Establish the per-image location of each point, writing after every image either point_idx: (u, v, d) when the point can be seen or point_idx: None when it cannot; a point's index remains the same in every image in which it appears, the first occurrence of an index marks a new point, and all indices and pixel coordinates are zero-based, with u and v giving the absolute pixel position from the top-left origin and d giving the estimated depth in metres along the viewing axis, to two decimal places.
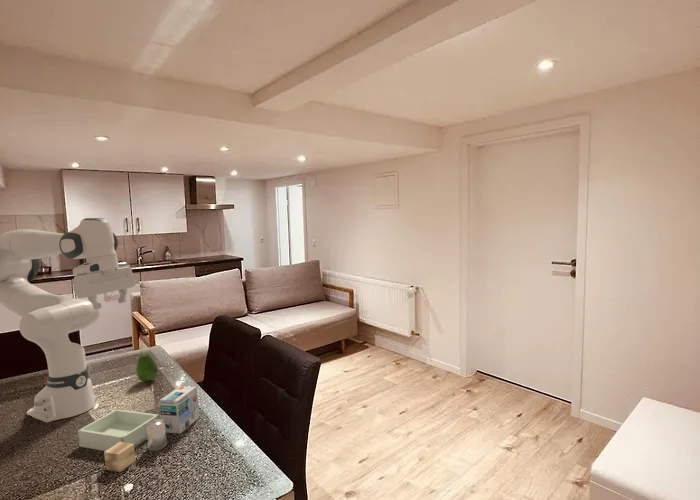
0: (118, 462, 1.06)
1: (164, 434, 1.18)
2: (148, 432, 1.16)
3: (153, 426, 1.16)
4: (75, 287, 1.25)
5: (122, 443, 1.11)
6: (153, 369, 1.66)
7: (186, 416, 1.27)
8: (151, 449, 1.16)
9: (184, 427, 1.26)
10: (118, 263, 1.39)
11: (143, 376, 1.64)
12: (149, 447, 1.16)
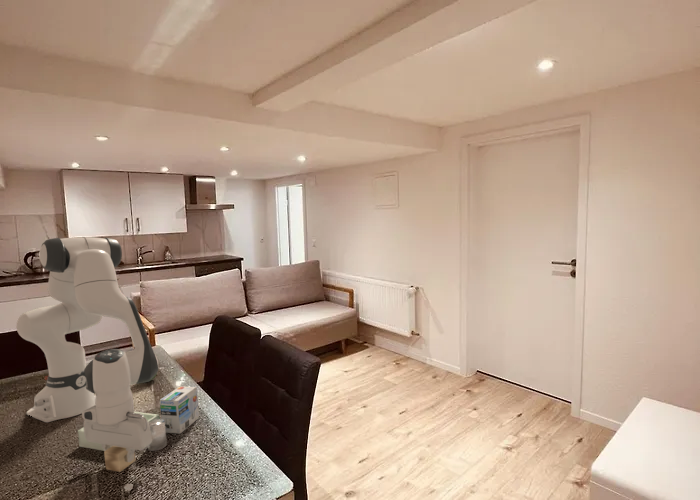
0: (118, 462, 1.06)
1: (164, 434, 1.18)
2: None
3: (153, 426, 1.16)
4: None
5: None
6: None
7: (186, 416, 1.27)
8: (151, 449, 1.16)
9: (184, 427, 1.26)
10: (130, 413, 1.06)
11: None
12: (149, 447, 1.16)
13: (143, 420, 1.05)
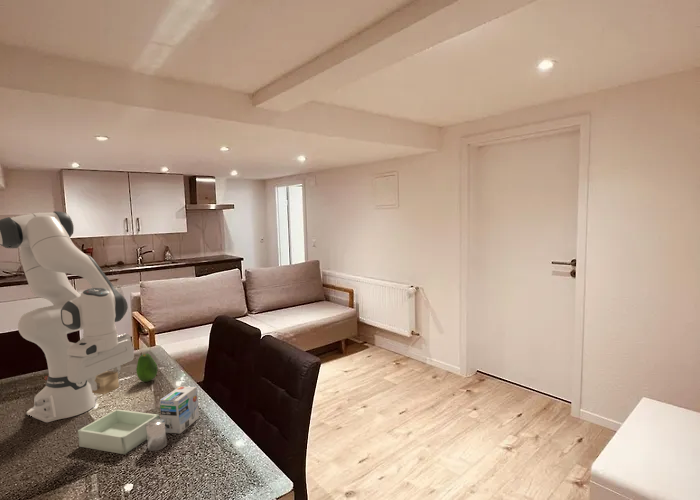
0: (117, 379, 1.25)
1: (164, 434, 1.18)
2: (148, 432, 1.16)
3: (153, 426, 1.16)
4: (68, 371, 1.14)
5: None
6: (153, 369, 1.66)
7: (186, 416, 1.27)
8: (151, 449, 1.16)
9: (184, 427, 1.26)
10: (118, 336, 1.28)
11: (143, 376, 1.64)
12: (149, 447, 1.16)
13: (129, 336, 1.32)
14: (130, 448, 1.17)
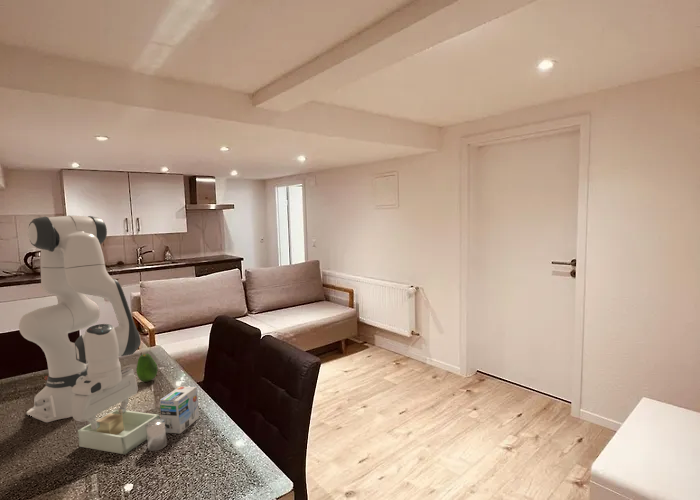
0: (122, 422, 1.26)
1: (164, 434, 1.18)
2: (148, 432, 1.16)
3: (153, 426, 1.16)
4: (73, 410, 1.15)
5: (101, 418, 1.24)
6: (153, 369, 1.66)
7: (186, 416, 1.27)
8: (151, 449, 1.16)
9: (184, 427, 1.26)
10: (121, 371, 1.29)
11: (143, 376, 1.64)
12: (149, 447, 1.16)
13: (132, 370, 1.33)
14: (130, 448, 1.17)
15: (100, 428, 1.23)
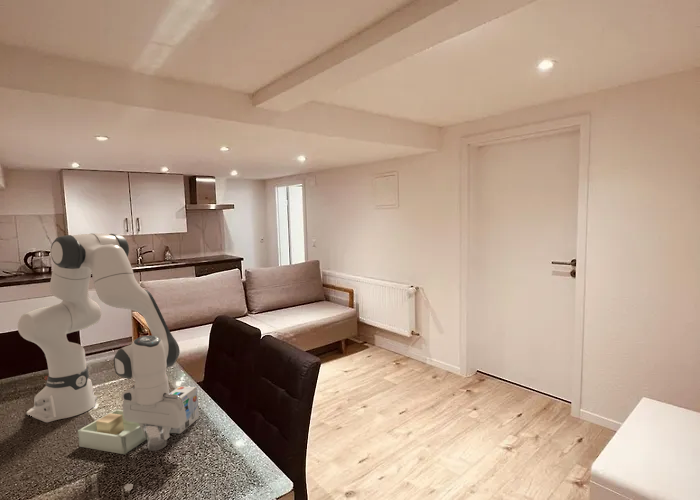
0: (122, 422, 1.26)
1: None
2: (148, 432, 1.16)
3: (153, 426, 1.16)
4: None
5: (101, 418, 1.24)
6: None
7: (186, 416, 1.27)
8: (151, 449, 1.16)
9: (184, 427, 1.26)
10: (167, 394, 1.15)
11: None
12: (149, 447, 1.16)
13: (179, 400, 1.14)
14: (130, 448, 1.17)
15: (100, 428, 1.23)
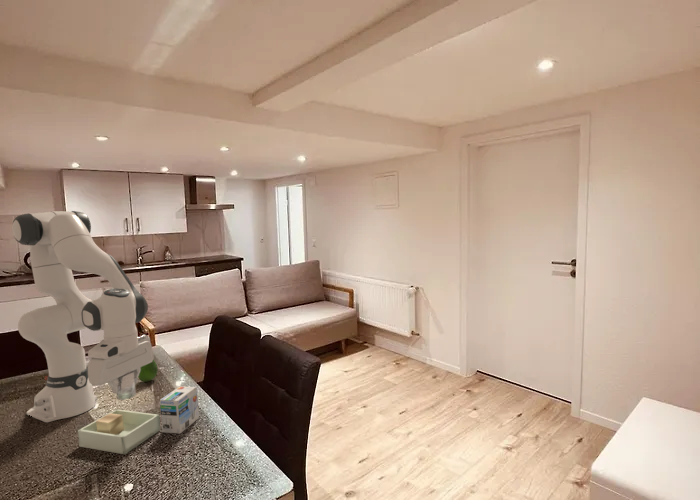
0: (122, 422, 1.26)
1: None
2: (130, 379, 1.20)
3: (130, 373, 1.21)
4: (90, 373, 1.12)
5: (101, 418, 1.24)
6: (153, 369, 1.66)
7: (186, 416, 1.27)
8: (133, 395, 1.21)
9: (184, 427, 1.26)
10: (137, 338, 1.25)
11: (143, 376, 1.64)
12: (131, 394, 1.20)
13: (148, 337, 1.29)
14: (130, 448, 1.17)
15: (100, 428, 1.23)
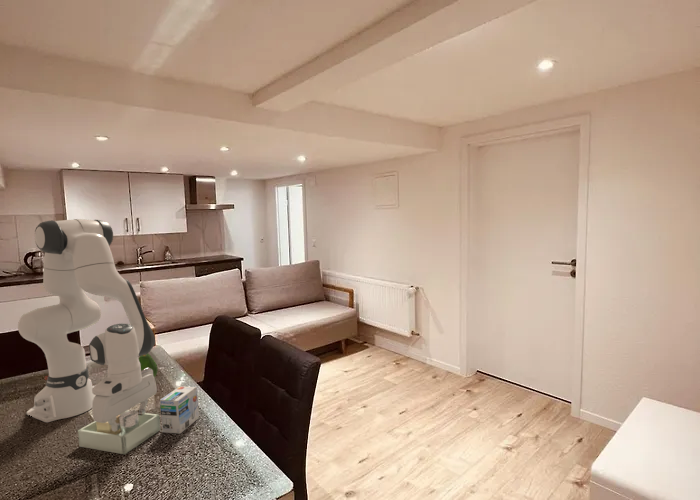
0: None
1: None
2: (134, 420, 1.21)
3: (135, 413, 1.22)
4: (94, 411, 1.12)
5: None
6: (153, 369, 1.66)
7: (186, 416, 1.27)
8: None
9: (184, 427, 1.26)
10: (141, 371, 1.26)
11: None
12: None
13: (151, 370, 1.30)
14: (130, 448, 1.17)
15: (100, 428, 1.23)
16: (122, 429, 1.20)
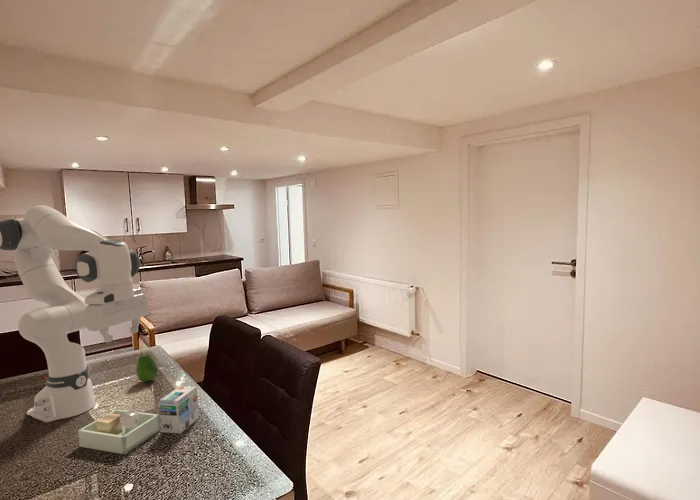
0: None
1: None
2: (134, 420, 1.21)
3: (135, 413, 1.22)
4: (87, 319, 1.14)
5: (101, 418, 1.24)
6: (153, 369, 1.66)
7: (186, 416, 1.27)
8: None
9: (184, 427, 1.26)
10: (133, 290, 1.28)
11: (143, 376, 1.64)
12: None
13: (144, 291, 1.32)
14: (130, 448, 1.17)
15: (100, 428, 1.23)
16: (122, 429, 1.20)
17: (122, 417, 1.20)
